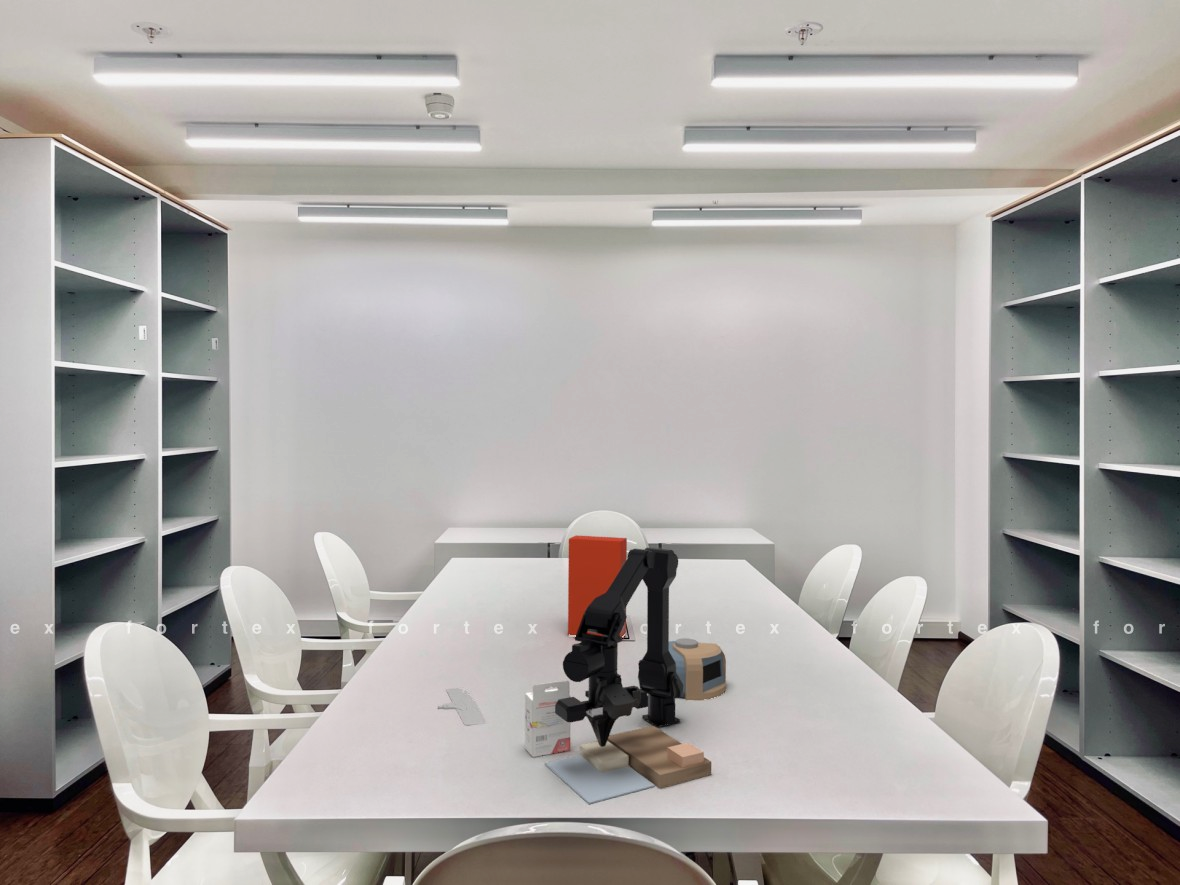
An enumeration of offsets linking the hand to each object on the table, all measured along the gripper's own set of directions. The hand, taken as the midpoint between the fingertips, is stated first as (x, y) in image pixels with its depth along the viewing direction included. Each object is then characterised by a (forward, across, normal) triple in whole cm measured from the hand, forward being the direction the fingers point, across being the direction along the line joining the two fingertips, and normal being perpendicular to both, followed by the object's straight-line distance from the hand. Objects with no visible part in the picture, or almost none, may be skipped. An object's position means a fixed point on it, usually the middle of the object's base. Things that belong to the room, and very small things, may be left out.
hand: (602, 745), depth 149 cm
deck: (+3, +10, -4) cm, 11 cm away
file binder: (+4, +45, +81) cm, 92 cm away
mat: (+3, -4, -4) cm, 7 cm away
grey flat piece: (+4, -8, +42) cm, 43 cm away
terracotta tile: (+1, +12, -12) cm, 17 cm away
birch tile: (+3, 0, 0) cm, 3 cm away
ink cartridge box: (+4, -7, +10) cm, 13 cm away
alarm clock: (+4, +42, +28) cm, 51 cm away
